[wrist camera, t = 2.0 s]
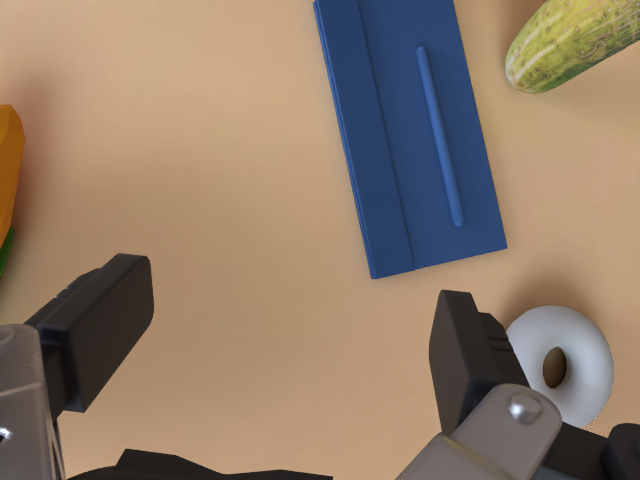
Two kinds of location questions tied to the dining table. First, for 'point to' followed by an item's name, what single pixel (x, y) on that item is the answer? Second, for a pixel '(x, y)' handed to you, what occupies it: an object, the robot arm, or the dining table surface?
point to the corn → (9, 175)
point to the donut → (581, 355)
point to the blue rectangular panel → (409, 132)
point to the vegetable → (569, 41)
